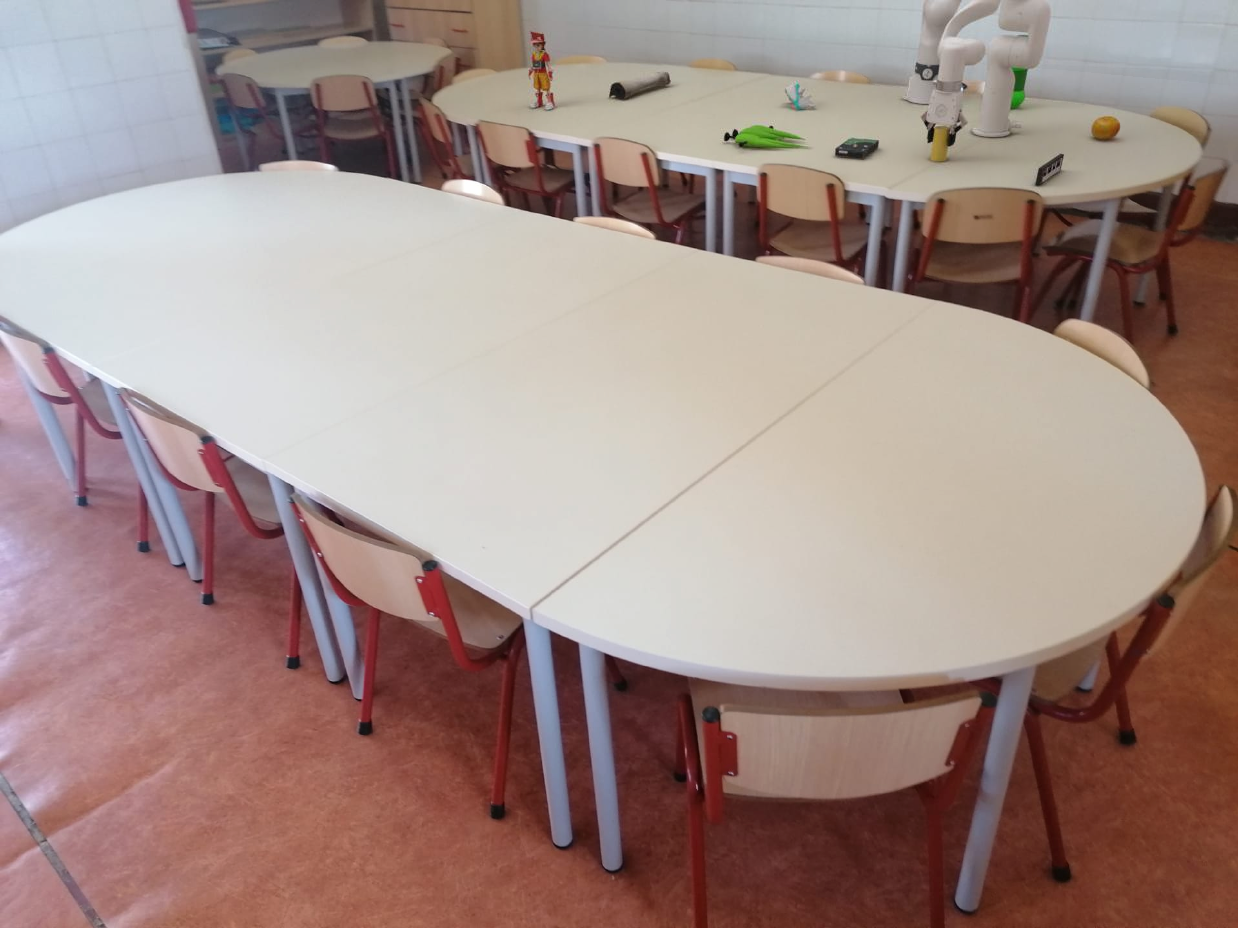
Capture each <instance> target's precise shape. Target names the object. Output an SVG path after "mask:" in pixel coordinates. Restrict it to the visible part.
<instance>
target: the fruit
mask: <svg viewBox="0 0 1238 928" xmlns="http://www.w3.org/2000/svg"><path fill="white" fill-rule="evenodd" d="M1120 130H1121V123H1120V121H1119V119H1117V118H1116V117H1114V116H1111V115H1105V116H1100V117H1098V118H1096V119H1095V121H1093V123H1092V124H1091V127H1090V131H1091V132H1090V133H1091V135H1092V136H1093V137H1094V138H1095V139H1097V140H1104V141H1105V140H1106V141H1107V140H1111V139H1113V138H1115V137H1116V136H1117V135H1118V134H1119V132H1120Z"/></svg>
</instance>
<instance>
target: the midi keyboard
mask: <svg viewBox="0 0 1238 928" xmlns="http://www.w3.org/2000/svg"><path fill="white" fill-rule="evenodd" d="M1064 157H1065V153H1059V154H1058V155H1056V156H1055V157H1052V159H1051V160H1049V161H1047V162H1045V164H1042V165H1041V166H1039V167H1038V169H1037V175H1036V179H1035V186H1040V185H1042V183H1044V182H1045V181H1047V180H1048V179H1049V178H1051V177H1052V176H1054V175H1055V174H1056V173H1058V172H1060V171H1061V170H1062V165H1063V161H1064Z"/></svg>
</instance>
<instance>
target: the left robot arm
mask: <svg viewBox="0 0 1238 928" xmlns="http://www.w3.org/2000/svg"><path fill="white" fill-rule="evenodd" d="M962 1H963V0H923V6H922V14H921V22H920V23H921V25H920V35H919V36H920V37H919V43H918V45H919V46H918V53H917V60H916V62H915V65H914V74H913V75H911V76H910V77H909V81H908V88H907V94H905V95H903V96H902V100H905V101H908V102H910V103H913V104H921V105H929V102H930V99H931V95H932V92H933V90H934V89H936V85H934V84H933V81H934V80H937V79H938V73H939V66H940V60H939V58H938V54H937V51H938V46H939V43H940V40H941V38H942V35H943V33H944V30H945V28H946V26H947V24H948V23H949V21H950V20H951V19H952V18H953V17H954V16H955V15H956V14H957V11H958V9H959V7H960V5H961V3H962ZM962 86H963V87H961V90H962V91H963V90H965V89H967V88H968V84H966V83H964V82H962Z"/></svg>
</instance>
